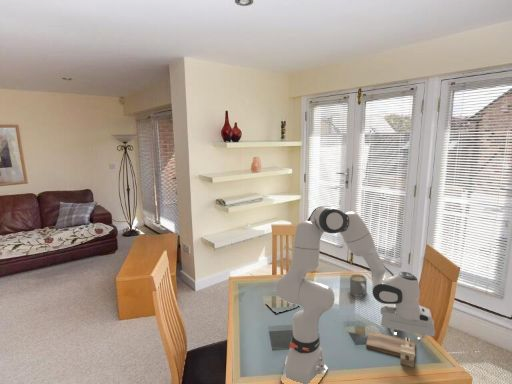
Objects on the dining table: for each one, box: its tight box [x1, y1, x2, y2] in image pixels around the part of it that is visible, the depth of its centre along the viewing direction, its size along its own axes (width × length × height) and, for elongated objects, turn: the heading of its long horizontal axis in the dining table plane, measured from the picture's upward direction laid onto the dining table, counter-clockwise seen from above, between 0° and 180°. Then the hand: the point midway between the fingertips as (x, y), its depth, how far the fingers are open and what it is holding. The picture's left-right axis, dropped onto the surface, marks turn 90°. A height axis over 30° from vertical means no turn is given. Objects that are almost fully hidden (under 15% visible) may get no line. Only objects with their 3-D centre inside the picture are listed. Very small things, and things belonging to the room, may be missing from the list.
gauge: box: [400, 337, 415, 368], centre depth 128 cm, size 16×5×6 cm, turn 152°
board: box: [365, 330, 416, 361], centre depth 134 cm, size 11×20×2 cm, turn 62°
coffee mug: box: [349, 273, 368, 297], centre depth 184 cm, size 13×10×10 cm
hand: (406, 339), depth 124 cm, fingers open, 8 cm apart
